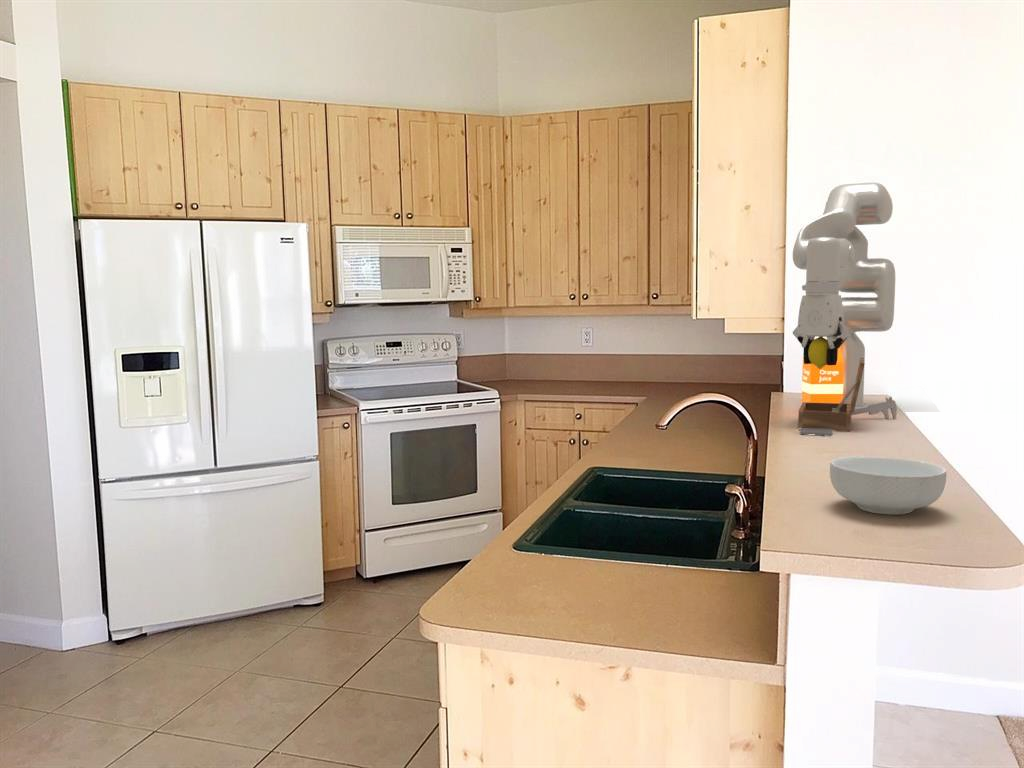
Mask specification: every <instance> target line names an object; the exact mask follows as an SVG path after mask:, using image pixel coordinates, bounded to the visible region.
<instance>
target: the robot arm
mask: <svg viewBox="0 0 1024 768" xmlns="http://www.w3.org/2000/svg"><path fill="white" fill-rule="evenodd" d="M893 207H894V206H893V200H892V197H891V195H890V193H889V192H888V190H887V187H885V186H884V185H883V184H881V183H879V182H860V183H844V184H840V185H838V186H835V187H834V188H833V189H832V190H830V193H829V194H828V197H827V200H826V202H825V206H824V210H823V213H822V214H821V215H820V216H818V217H816V218H814V219H813V220H812V221H809V222H808V223H806V224H805V225H804V226H803V227H801V229H800V230H799V232H798V234H797V237H796V239H795V242H794V245H793V247H792V248H793V249H792V262H793V264H794V266H795V267H796V269H797V268H798V269H800V270H806V271H805V274H806V275H805V276H806V277H805V281H806V282H805V284H803V285H802V287H801V290H802V291H805V295H802V296H801V300H800V303H799V304H800V305H799V308H798V309H799V310H798V318H797V326H796V327H795V328H794V329H793V331H792V335H793V336H794V337H795V338H796V339H797V341H798V342H799V344H801V348H803V354H802V355H803V357H802V359H804V364H812V363H811V362H810V360H809V356H808V350H809V346H810V344H811V342H812V341H813V340H815V339H816V338H815V337H817V338H818V337H823V338H825V337H826V339H827V340H828V343H829V347H830V349H827V365H836V364H837V359H838V348H841V353H842V357H843V362H844V370H843V398H844V397H845V395H846V394H847V392H848V391H849V389H850V388H851V386H852V385H853V383H854V382H855V381H856V376H857V372H858V367H859V363H860V358H864V362H865V361H866V349H865V348H866V347H865V345H864V343H863V341H862V340H861V338H860V337H859V335H857V334H856V333H857V332H858V333H859V332H872V333H873V332H875V333H876V332H877V333H878V332H879V333H880V332H887V331H889V330H890V329H891V328H892V327H893V323H894V320H895V319H894V318H895V297H896V269H895V264H894V263H893V262H892V260H890V259H889V258H881V257H879V258H877V257H876V258H869V257H868V249H869V248H868V247H869V240H868V239H867V237H866V235H864V233H863V232H862V231H861V230H860V229H859V228H858V227H857V226H864V225H865V226H867V225H868V226H869V225H883V224H886V223H887V222H889V221H890V219H891V218H892V215H893ZM839 292H840V293H849V294H855V293H856V294H859V293H860V294H870V293H871V294H875V295H876V296H877V297H873V296H872V297H869V296H868V297H865V296H863V297H861V296H860V297H859V296H855V297H854V296H853V297H850V296H847V297H845V296H844V297H842V296H841V295H839V294H840V293H839ZM864 385H865V368H864V369H863V373H862V378H861V382H860V387H859V391H858V396H857V400H856V405H855V408H861V407H866V406H867V405H868V404H867V403H864V395H865V394H864V393H865V392H864V390H865V389H864V387H865V386H864ZM853 390H854V389H853ZM853 390H852V392H851V393H850V395H849V396H848V398H847V399H846V400H845V402H844V404H850V402H851V399H852V394H853Z"/></svg>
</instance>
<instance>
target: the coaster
mask: <svg viewBox="0 0 1024 768" xmlns="http://www.w3.org/2000/svg"><path fill="white" fill-rule="evenodd" d="M800 434H815V435H814V436H819V435H829V436H828V437H832V436H833V435H832V434H833V431H832V429H819V428H801V429H800V432H799V435H800Z"/></svg>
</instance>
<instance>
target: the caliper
mask: <svg viewBox="0 0 1024 768" xmlns="http://www.w3.org/2000/svg"><path fill="white" fill-rule="evenodd" d="M888 409H890V411H891V415H892V419H893V420H896V419H897V410H898V408H897V403H896V400H893V397H892V396H891V395H890V396H889V398H888V397H886V396H885V401H880V402H875V403H870V404H867V406H866V407H861V408H855V409H854V412H853V413H851V416H854V415H855V416H856V415H860V414H867V413H868V415H874V414H876V415H877V414H879V413H881V412H882V414H883V416H884V418H885V419H886V420H890V415H889V414H890V413H889V411H888Z"/></svg>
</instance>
